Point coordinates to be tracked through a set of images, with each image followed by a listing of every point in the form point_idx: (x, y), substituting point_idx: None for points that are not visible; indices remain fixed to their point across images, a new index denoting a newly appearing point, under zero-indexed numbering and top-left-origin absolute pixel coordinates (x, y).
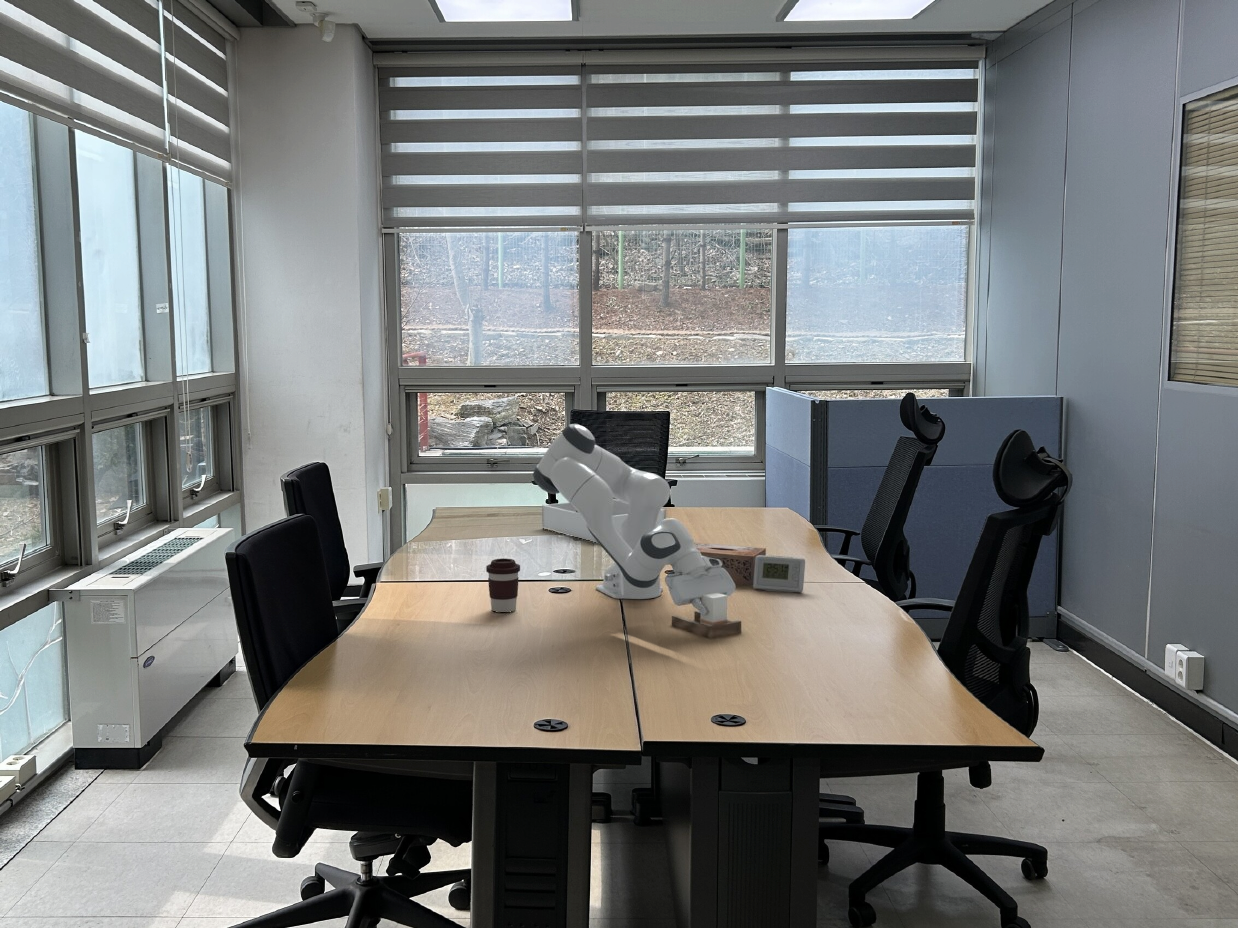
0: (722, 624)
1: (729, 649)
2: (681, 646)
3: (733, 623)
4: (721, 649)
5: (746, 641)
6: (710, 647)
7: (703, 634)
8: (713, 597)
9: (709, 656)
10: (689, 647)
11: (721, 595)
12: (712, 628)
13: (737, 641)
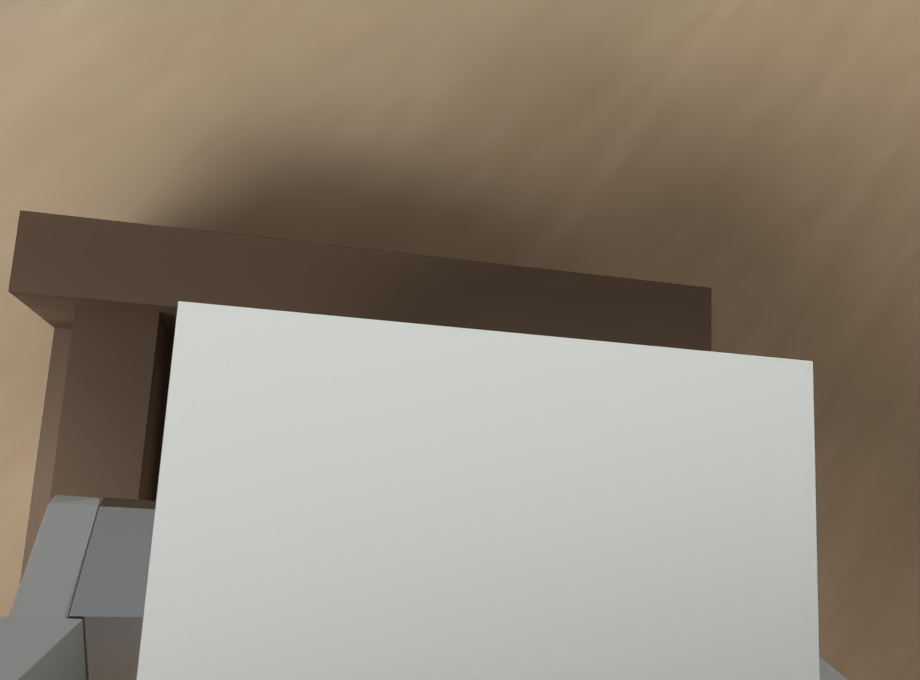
0: (440, 295)
1: (572, 63)
2: (892, 494)
3: (227, 234)
4: (637, 123)
5: (173, 121)
6: (679, 254)
7: None
8: (739, 428)
9: (876, 58)
10: (849, 408)
11: (333, 452)
12: (668, 286)
13: (262, 199)
